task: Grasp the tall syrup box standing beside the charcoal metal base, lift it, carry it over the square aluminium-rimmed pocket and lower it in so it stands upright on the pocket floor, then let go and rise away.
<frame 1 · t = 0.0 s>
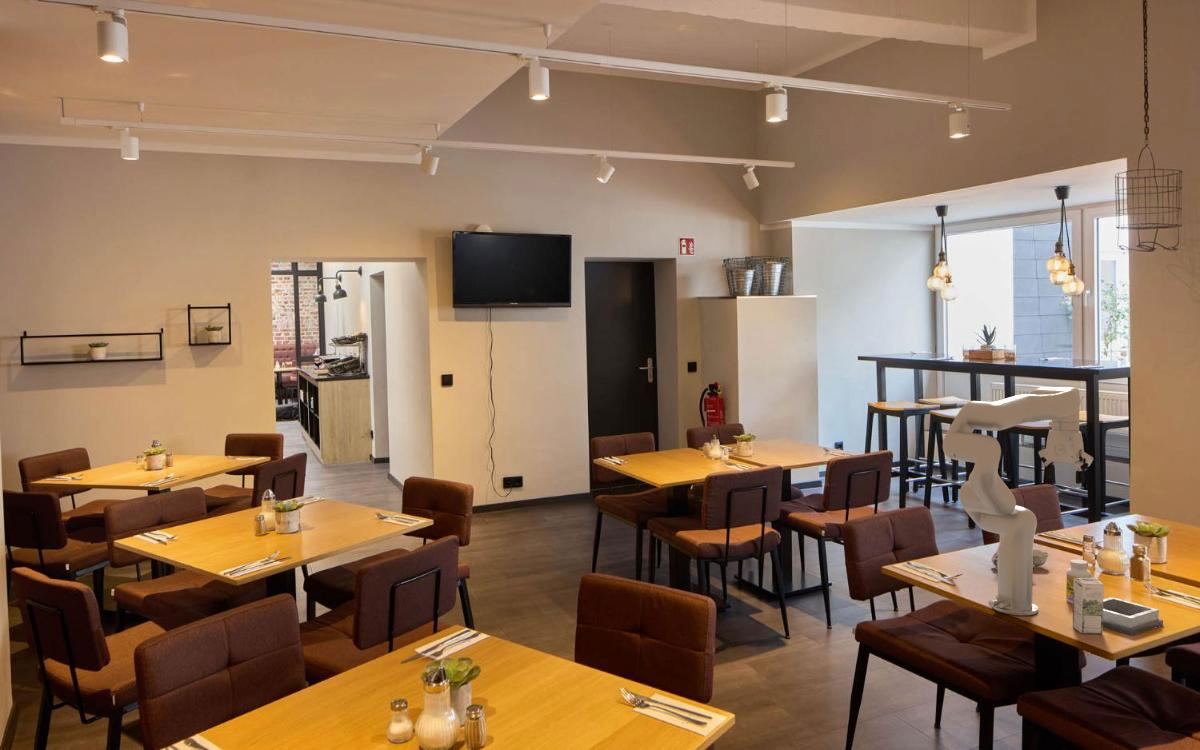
hand: (1064, 480, 268), 37 cm above the table, tool pointing down, fingers open, 9 cm apart
syrup box: (1087, 631, 240), on the table
chinaware: (1017, 571, 298), on the table
pocket base: (1120, 622, 246), on the table
supplement bottle: (1078, 602, 264), on the table
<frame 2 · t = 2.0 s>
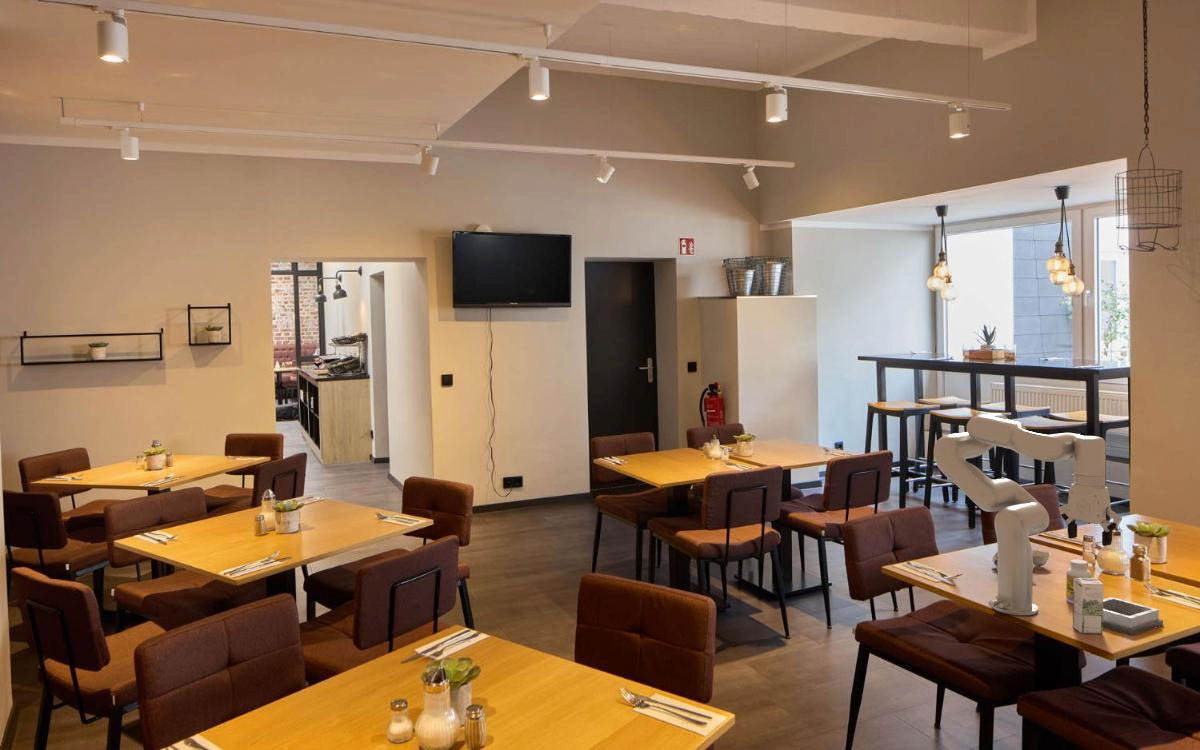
hand: (1089, 541, 238), 25 cm above the table, tool pointing down, fingers open, 9 cm apart
nothing on the table moved.
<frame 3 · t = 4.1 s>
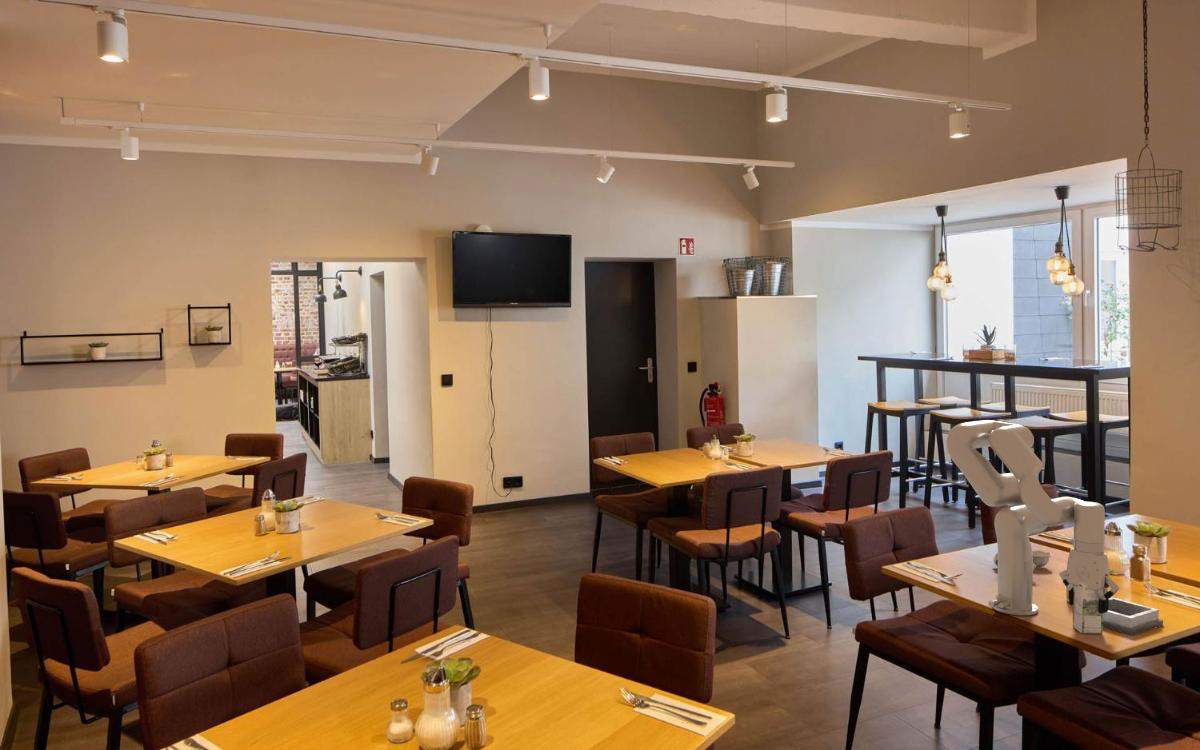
hand: (1088, 607, 239), 7 cm above the table, tool pointing down, fingers closed on syrup box, 7 cm apart
syrup box: (1087, 631, 240), on the table, touching gripper
everything else where it was.
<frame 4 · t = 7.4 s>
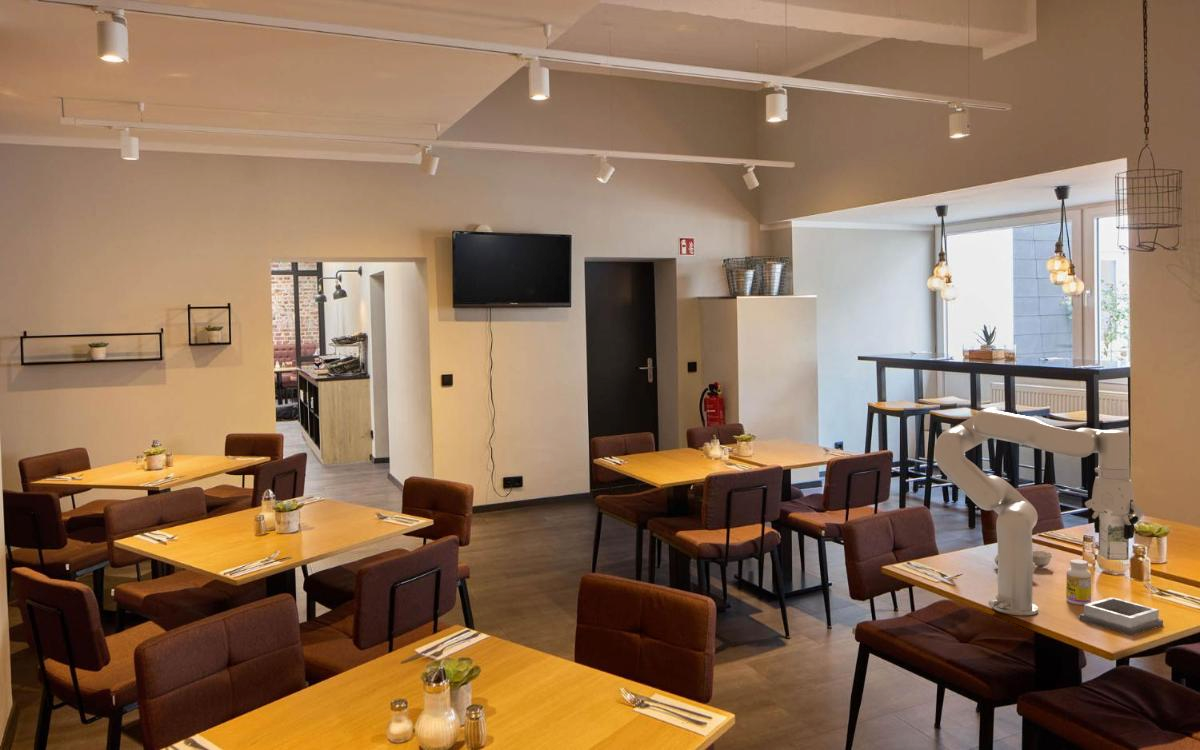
hand: (1113, 534, 242), 26 cm above the table, tool pointing down, fingers closed on syrup box, 7 cm apart
syrup box: (1113, 558, 243), point 19 cm above the table, touching gripper
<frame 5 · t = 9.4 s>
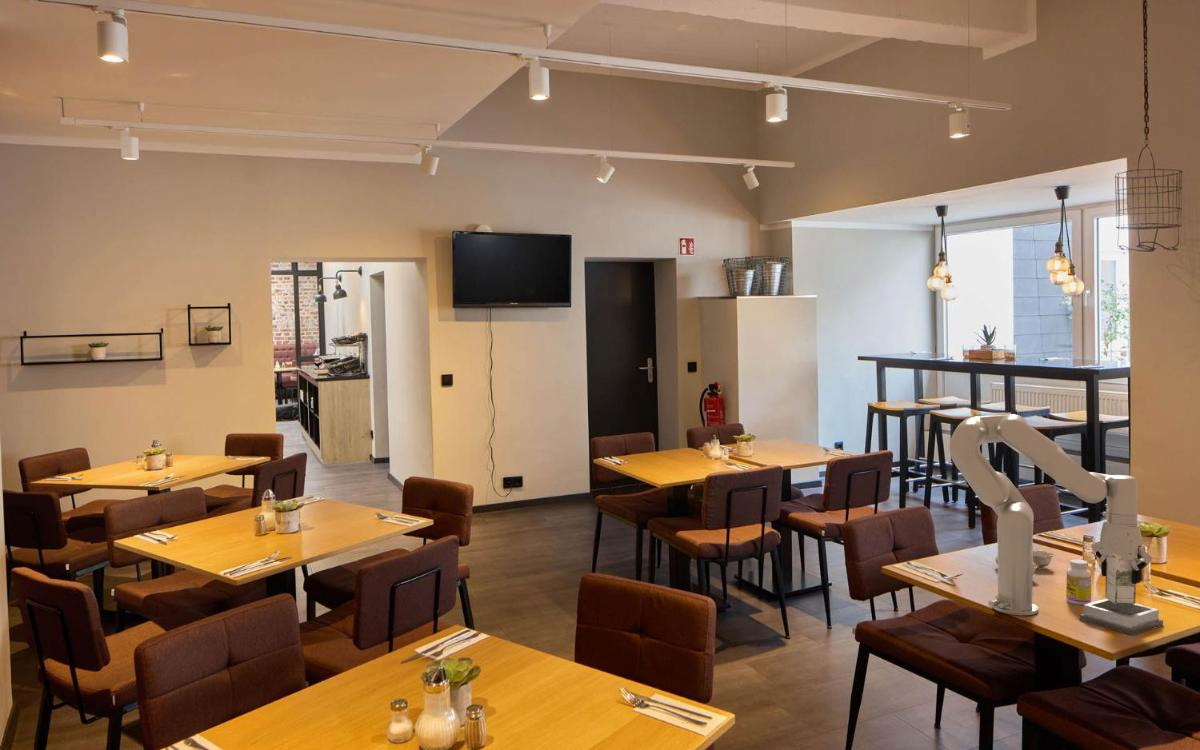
hand: (1120, 578, 245), 13 cm above the table, tool pointing down, fingers closed on syrup box, 7 cm apart
syrup box: (1120, 601, 245), point 6 cm above the table, touching gripper
when the fingers open (9 cm above the table, at t = 10.9 s): syrup box stays where it is, resting on pocket base.
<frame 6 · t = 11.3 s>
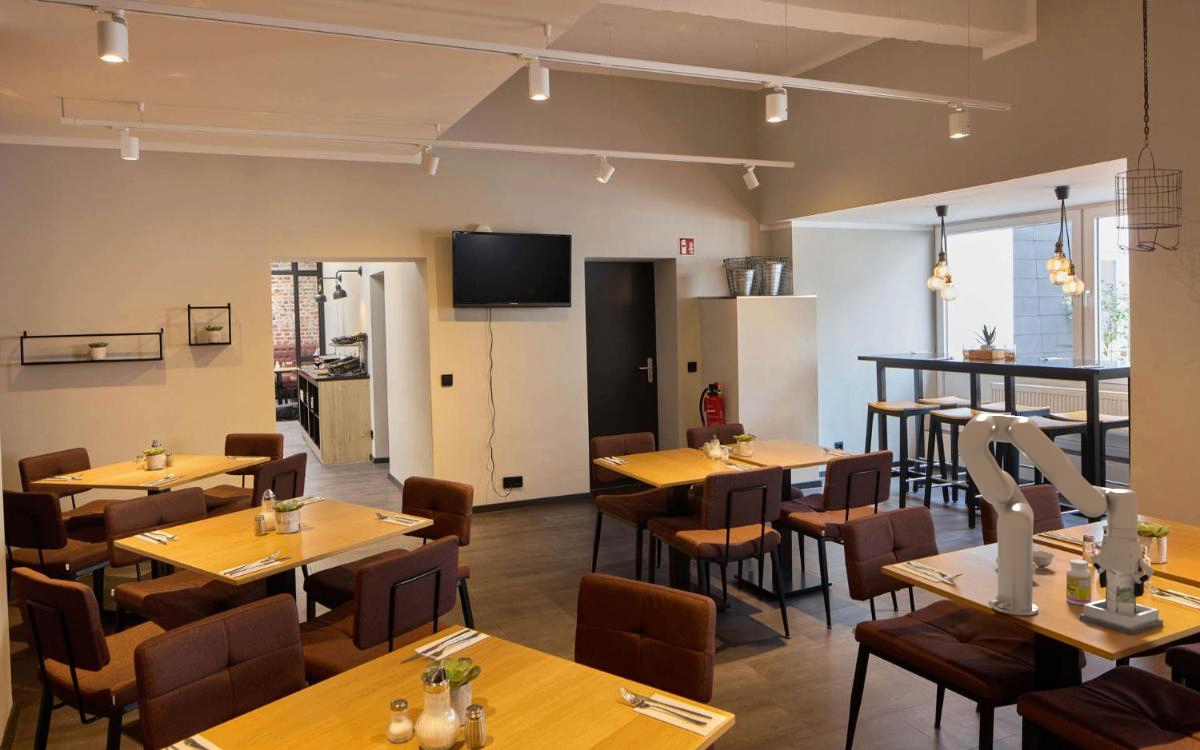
hand: (1121, 591, 245), 9 cm above the table, tool pointing down, fingers open, 9 cm apart
syrup box: (1120, 618, 245), point 1 cm above the table, touching pocket base
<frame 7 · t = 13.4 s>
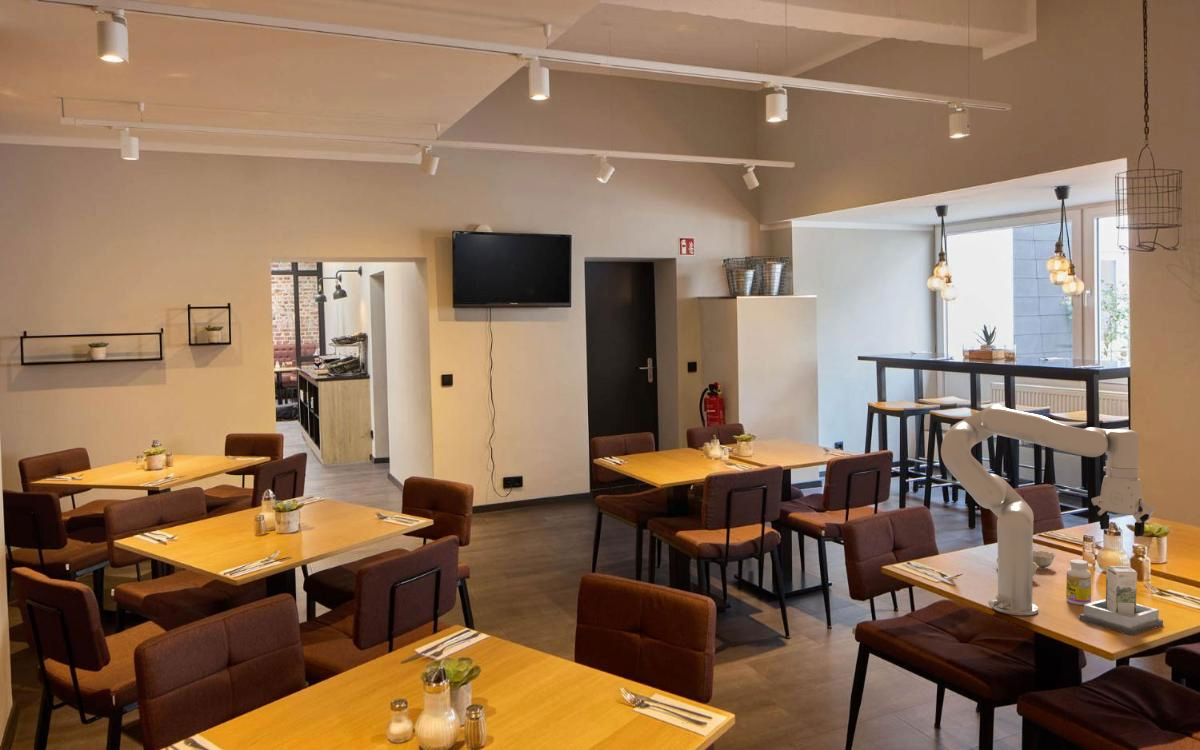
hand: (1121, 532, 244), 26 cm above the table, tool pointing down, fingers open, 9 cm apart
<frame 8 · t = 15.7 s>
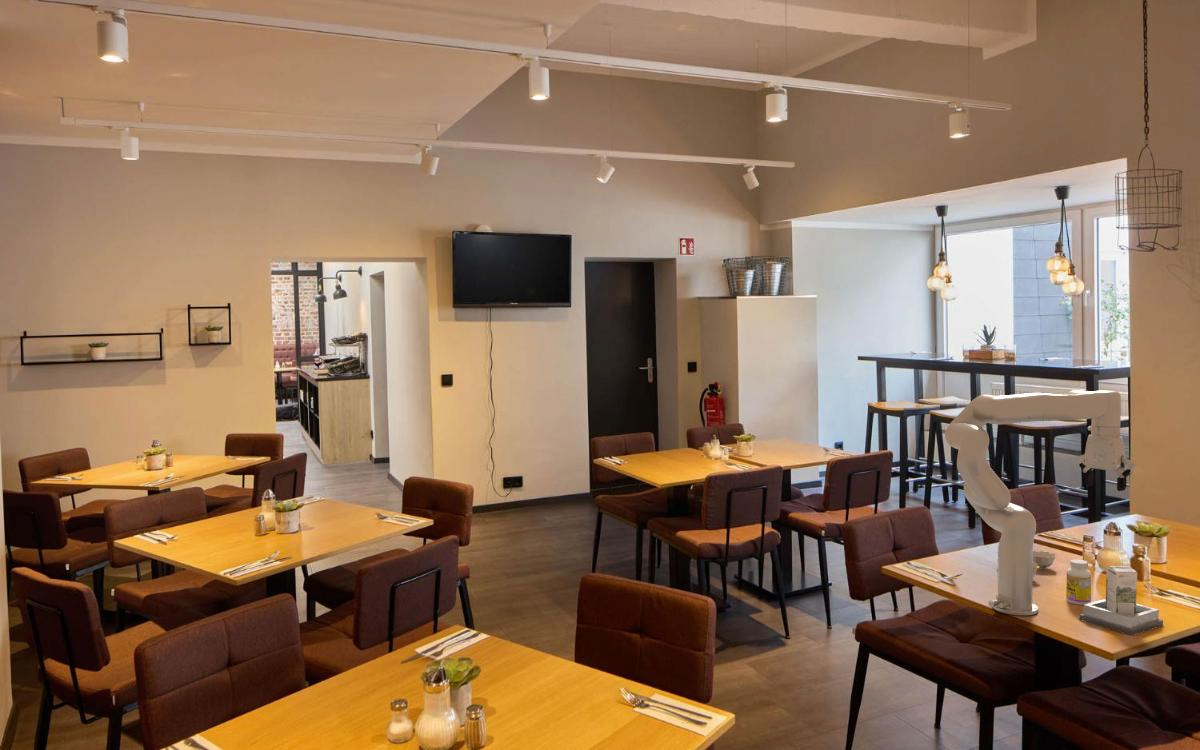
hand: (1105, 487, 258), 36 cm above the table, tool pointing down, fingers open, 9 cm apart
at the end: syrup box 0.1 cm off-centre on the pocket base, point 1.3 cm above the pocket base's base; syrup box tilted 0°; the gripper is holding nothing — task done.
